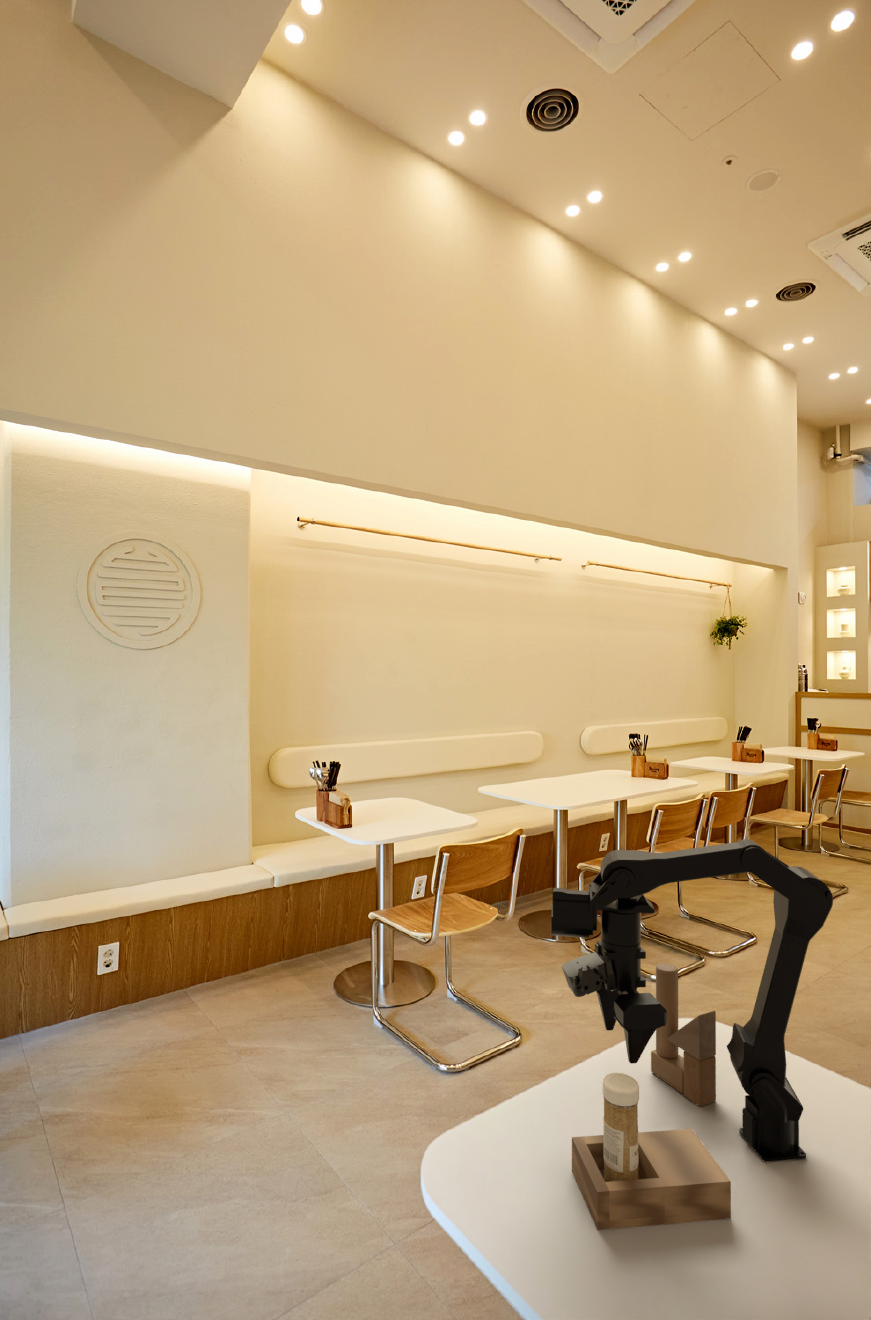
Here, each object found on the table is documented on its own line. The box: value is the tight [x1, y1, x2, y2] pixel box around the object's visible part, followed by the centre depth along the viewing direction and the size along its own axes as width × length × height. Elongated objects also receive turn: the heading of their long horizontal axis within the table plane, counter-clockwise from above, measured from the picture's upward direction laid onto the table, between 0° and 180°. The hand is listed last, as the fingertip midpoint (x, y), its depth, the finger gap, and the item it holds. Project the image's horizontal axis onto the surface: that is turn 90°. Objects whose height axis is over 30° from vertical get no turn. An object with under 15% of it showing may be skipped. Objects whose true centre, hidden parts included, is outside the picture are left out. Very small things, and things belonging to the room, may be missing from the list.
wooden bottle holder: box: [571, 1128, 732, 1231], centre depth 89 cm, size 17×10×4 cm, turn 96°
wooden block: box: [650, 963, 717, 1107], centre depth 113 cm, size 4×11×18 cm, turn 26°
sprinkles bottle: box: [602, 1072, 640, 1182], centre depth 89 cm, size 5×5×13 cm
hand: (620, 1045), depth 103 cm, fingers open, 9 cm apart
